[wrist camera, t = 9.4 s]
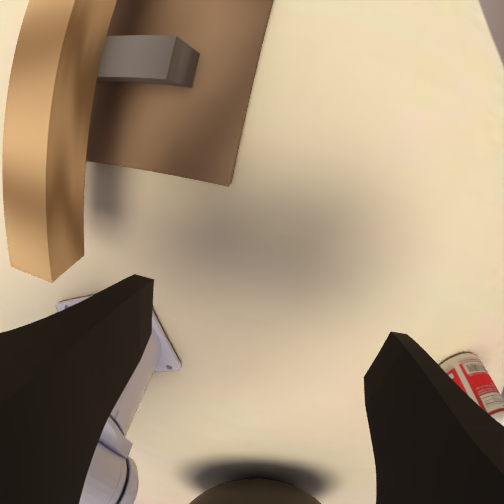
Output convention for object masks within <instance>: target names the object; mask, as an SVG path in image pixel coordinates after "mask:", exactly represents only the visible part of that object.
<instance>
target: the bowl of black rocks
mask: <svg viewBox="0 0 504 504" xmlns="http://www.w3.org/2000/svg"><path fill="white" fill-rule="evenodd" d="M190 504H321V503H320V502H319V501H318V500H317V499H315V498H314V497H313V496H311V495H310V494H309V493H307V492H305V491H304V490H302V489H300V488H298V487H295V486H293V485H290V484H287V483H284V482H280V481H276V480H270V479H257V478H254V479H241V480H235V481H230V482H226V483H223V484H220V485H218V486H215V487H213V488H211V489H209V490H207V491H205V492H204V493H202V494H201V495H199V496H198V497H196V498H195V499H194V500H193V501H192V502H191V503H190Z"/></svg>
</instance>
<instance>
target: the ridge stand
mask: <svg viewBox="0 0 504 504" xmlns="http://www.w3.org/2000/svg"><path fill="white" fill-rule="evenodd" d="M272 4H273V0H117V1H116V4H115V7H114V11H113V14H112V17H111V21H110V24H109V28H108V32H107V35H106V39H105V43H104V47H103V52H102V56H101V60H100V65H99V70H98V75H97V80H96V85H95V91H94V97H93V103H92V110H91V117H90V125H89V133H88V142H87V153H86V161H91V162H98V163H105V164H111V165H118V166H124V167H130V168H136V169H142V170H147V171H153V172H158V173H164V174H169V175H175V176H180V177H185V178H190V179H195V180H200V181H205V182H210V183H215V184H219V185H224V186H229V185H230V184H231V181H232V176H233V172H234V167H235V162H236V157H237V152H238V148H239V143H240V138H241V134H242V129H243V125H244V120H245V116H246V111H247V107H248V102H249V98H250V93H251V89H252V85H253V80H254V76H255V72H256V68H257V64H258V59H259V55H260V51H261V47H262V43H263V39H264V35H265V31H266V27H267V23H268V19H269V15H270V12H271V8H272Z"/></svg>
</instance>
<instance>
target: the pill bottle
mask: <svg viewBox="0 0 504 504" xmlns="http://www.w3.org/2000/svg"><path fill="white" fill-rule="evenodd" d="M440 367H441V368H442V369H443V370H444V371H445V372H446V373H447V374H448V375H449V377H450V378H451V379H452V380H453V381H454V382H455V383H456V384H457V385H458V386H459V387H460V388H461V389H462V390H463V391H464V392H465V393H466V394H467V395H468V396H469V397H470V398H471V399H472V400H473V401H474V402H476V403H477V404H478V405H479V406H480V407H481V408H482V409H483V410H484V411H486V412H487V413H488V414H489V415H490V416H492V417H493V418H494V419H495V420H496V421H498V422H499V423H500V424H501V425H503V426H504V400H503V398H502V397H501V395H500V393H499V391H498V389H497V388H496V386H495V384H494V382H493V381H492V379H491V377H490V376H489V374H488V372H487V370H486V369H485V367H484V365H483V364H482V362H481V361H480V359H479V358H478V357H477V356H476V355H474V354H471V353H464V354H460V355H457V356H454V357H452V358H450V359H448V360H447V361H445V362H444V363H442V364H441V365H440Z"/></svg>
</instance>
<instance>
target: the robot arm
mask: <svg viewBox="0 0 504 504" xmlns="http://www.w3.org/2000/svg"><path fill="white" fill-rule="evenodd" d="M153 286H154V279H150V278H146V277H143V276H139V275H136V274H134V275H132V276H130V277H128V278H126V279H124V280H122V281H120V282H118V283H116V284H114V285H112V286H110V287H108V288H106V289H104V290H103V291H101V292H99V293H97V294H95V295H91V296H87V297H82V298H77V299H72V300H67V301H62V302H59V303H57V304H56V309H57V311H58V312H57V313H55V314H53V315H51V316H48V317H46V318H44V319H41V320H38V321H36V322H33V323H31V324H28V325H25V326H22V327H19V328H16V329H13V330H10V331H6V332H2V333H0V504H133V503H134V501H135V498H136V495H137V491H138V483H139V481H138V471H137V466H136V464H135V462H134V461H133V459H132V458H130V457H129V456H128V455H129V452H130V450H131V447H132V445H133V444H132V443H131V442H130V441H129V440H127V439H126V438H125V436H126V433H127V431H128V429H129V426H130V424H131V422H132V420H133V417H134V415H135V413H136V410H137V408H138V406H139V403H140V401H141V399H142V397H143V394H144V392H145V390H146V388H147V385H148V383H149V381H150V379H151V377H152V374H153V372H165V371H178V370H180V368H181V363H180V361H179V359H178V358H177V356H176V354H175V352H174V350H173V348H172V347H171V345H170V343H169V341H168V339H167V337H166V335H165V333H164V332H163V330H162V328H161V326H160V324H159V322H158V320H157V318H156V316H155V314H154V312H153V310H152V307H153ZM169 365H170V366H169ZM364 393H365V406H366V412H367V417H368V423H369V429H370V434H371V440H372V446H373V452H374V458H375V465H376V482H377V498H376V504H504V426H503V425H501V424H500V423H499V422H498V421H496V420H495V419H494V418H493V417H492V416H490V415H489V414H488V413H487V412H486V411H484V410H483V409H482V408H481V407H480V406H479V405H478V404H477V403H476V402H474V401H473V400H472V399H471V398H470V397H469V396H468V395H467V394H466V393H465V392H464V391H463V390H462V389H461V388H460V387H459V386H458V385H457V384H456V383H455V382H454V381H453V380H452V379H451V378H450V377H449V375H448V374H447V373H446V372H445V371H444V370H443V369H442V368H441V367H440V366H439V365H438V364H437V363H436V362H435V361H434V360H433V359H432V358H431V357H430V356H429V355H428V353H427V352H426V351H425V350H424V349H423V348H422V347H421V346H420V345H418V344H417V343H416V342H415V341H414V340H413V339H412V338H411V337H409V336H408V335H407V334H402V333H396V332H390V334H389V336H388V338H387V339H386V341H385V343H384V345H383V346H382V348H381V350H380V352H379V353H378V355H377V357H376V358H375V360H374V362H373V363H372V365H371V367H370V368H369V370H368V371H367V373H366V375H365V376H364Z"/></svg>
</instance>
